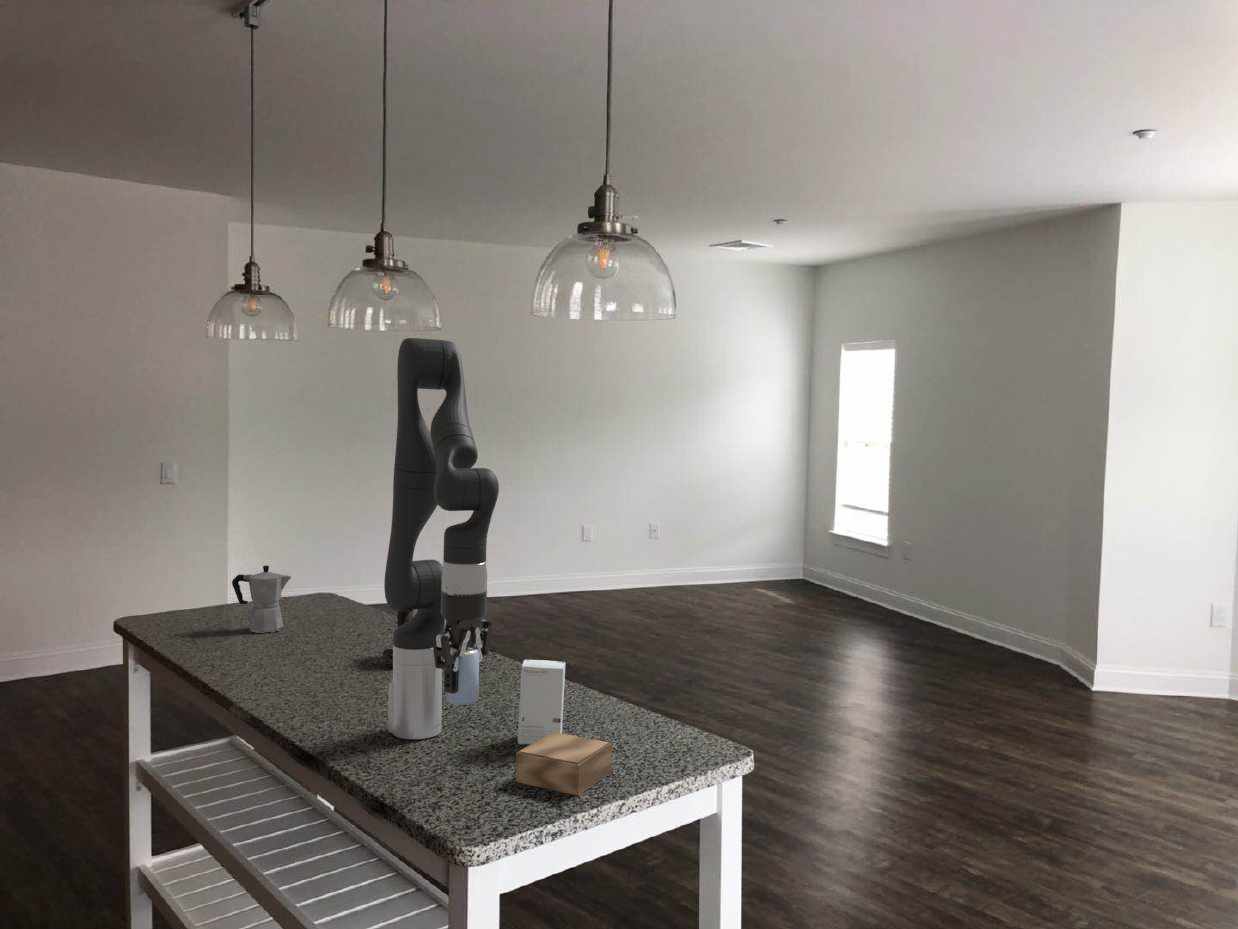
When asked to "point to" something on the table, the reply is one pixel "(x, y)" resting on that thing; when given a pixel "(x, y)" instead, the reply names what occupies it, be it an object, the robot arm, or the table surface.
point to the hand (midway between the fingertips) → (462, 687)
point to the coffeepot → (263, 598)
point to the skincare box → (540, 699)
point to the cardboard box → (564, 763)
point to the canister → (466, 678)
